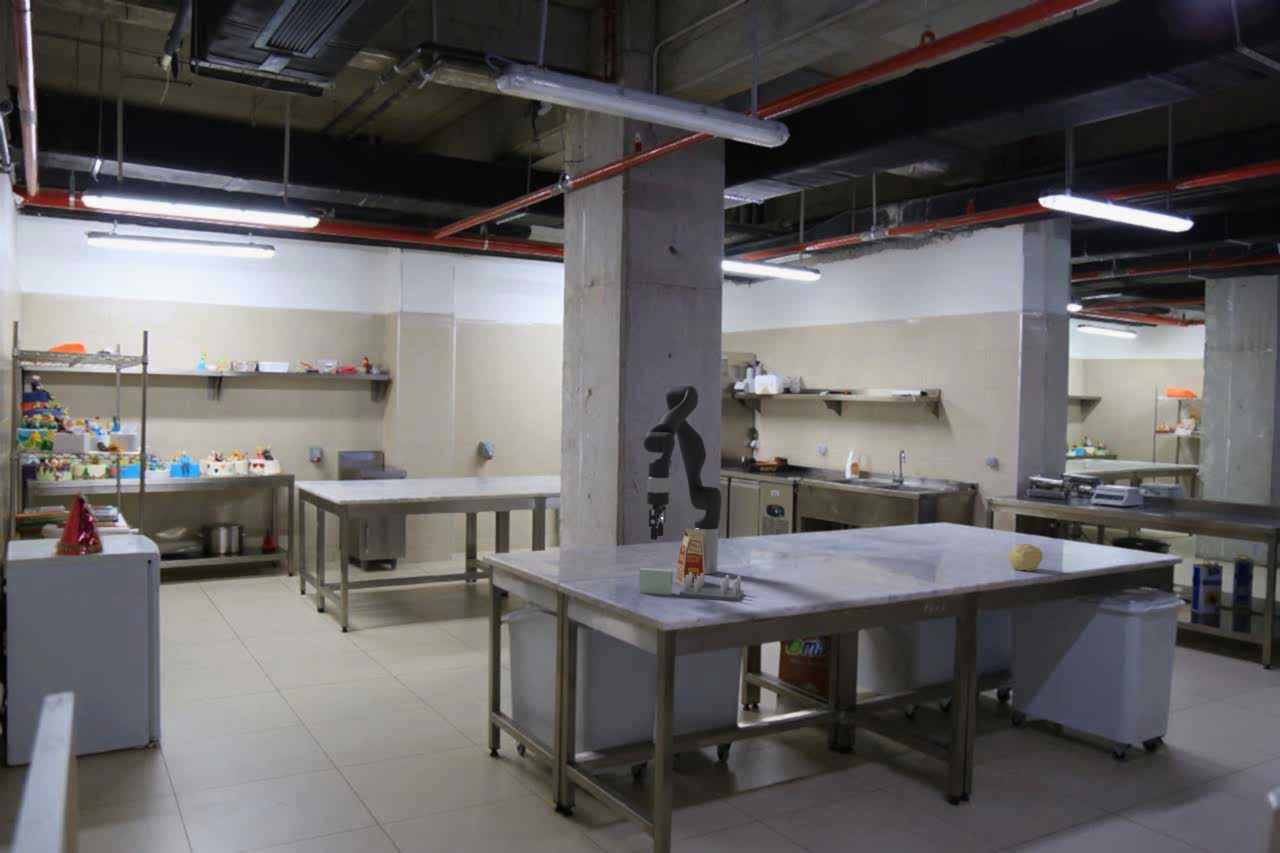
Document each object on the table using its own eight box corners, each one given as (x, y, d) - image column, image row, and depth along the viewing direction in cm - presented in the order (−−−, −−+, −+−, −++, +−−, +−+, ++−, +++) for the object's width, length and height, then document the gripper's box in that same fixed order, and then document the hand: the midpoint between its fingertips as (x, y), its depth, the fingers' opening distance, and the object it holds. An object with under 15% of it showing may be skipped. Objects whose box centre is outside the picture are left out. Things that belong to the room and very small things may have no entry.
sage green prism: (641, 590, 311) (641, 567, 311) (672, 593, 308) (672, 570, 308) (638, 592, 308) (639, 569, 308) (670, 595, 305) (670, 571, 305)
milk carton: (683, 585, 321) (684, 530, 321) (675, 580, 330) (676, 526, 330) (707, 584, 324) (708, 529, 324) (698, 579, 333) (700, 526, 332)
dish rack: (686, 589, 314) (686, 572, 314) (743, 594, 309) (743, 576, 309) (679, 596, 303) (679, 578, 303) (738, 601, 298) (738, 582, 297)
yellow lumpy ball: (1023, 573, 362) (1024, 546, 362) (1002, 567, 374) (1003, 542, 373) (1046, 572, 366) (1047, 545, 366) (1025, 566, 377) (1026, 541, 377)
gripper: (652, 488, 315) (651, 534, 316) (642, 491, 301) (641, 539, 302) (673, 489, 313) (672, 535, 314) (664, 492, 299) (662, 541, 300)
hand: (656, 537), depth 308 cm, fingers open, 8 cm apart
